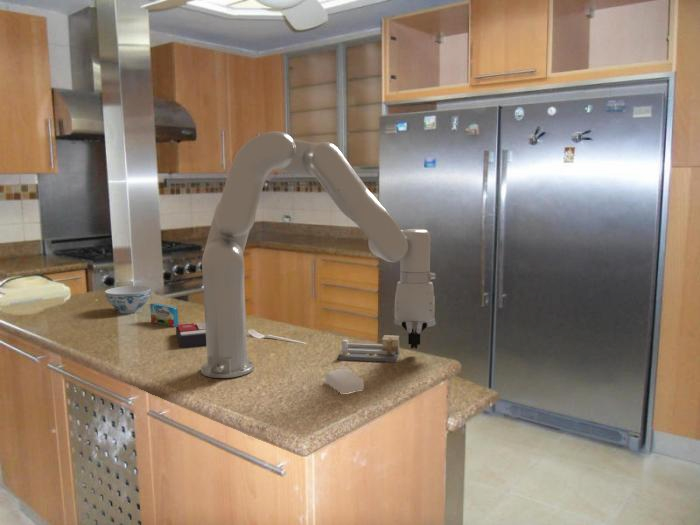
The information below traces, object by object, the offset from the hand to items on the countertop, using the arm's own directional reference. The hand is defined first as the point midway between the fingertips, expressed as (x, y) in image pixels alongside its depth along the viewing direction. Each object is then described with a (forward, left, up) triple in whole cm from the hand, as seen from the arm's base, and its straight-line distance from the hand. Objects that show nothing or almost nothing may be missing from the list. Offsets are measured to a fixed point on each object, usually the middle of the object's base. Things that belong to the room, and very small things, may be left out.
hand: (414, 346), depth 152 cm
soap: (-25, +14, -3) cm, 29 cm away
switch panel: (-1, +12, -2) cm, 12 cm away
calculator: (+7, +63, -3) cm, 64 cm away
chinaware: (+37, +102, -3) cm, 109 cm away
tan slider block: (-1, +6, -1) cm, 6 cm away
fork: (+10, +40, -3) cm, 41 cm away
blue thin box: (+22, +81, -3) cm, 84 cm away
